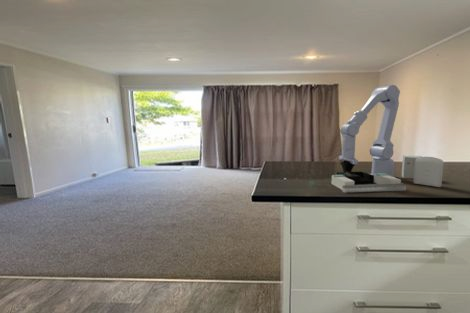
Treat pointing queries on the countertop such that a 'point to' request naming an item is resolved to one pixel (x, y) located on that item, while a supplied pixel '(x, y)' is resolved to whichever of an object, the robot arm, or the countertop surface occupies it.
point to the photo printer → (428, 171)
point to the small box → (408, 166)
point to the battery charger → (358, 177)
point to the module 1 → (341, 181)
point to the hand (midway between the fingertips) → (347, 176)
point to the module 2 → (385, 179)
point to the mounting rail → (373, 187)
